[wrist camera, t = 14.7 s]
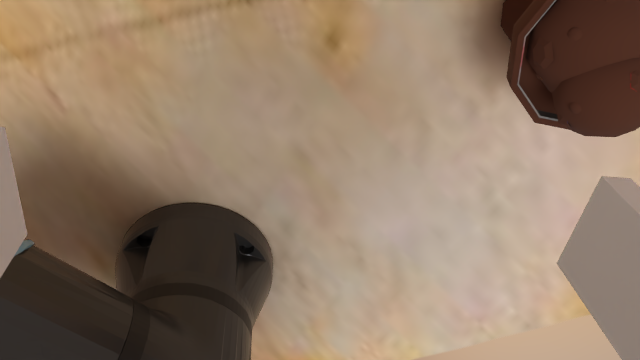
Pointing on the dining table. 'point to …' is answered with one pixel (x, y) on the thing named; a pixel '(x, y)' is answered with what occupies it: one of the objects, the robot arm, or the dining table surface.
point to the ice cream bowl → (576, 63)
